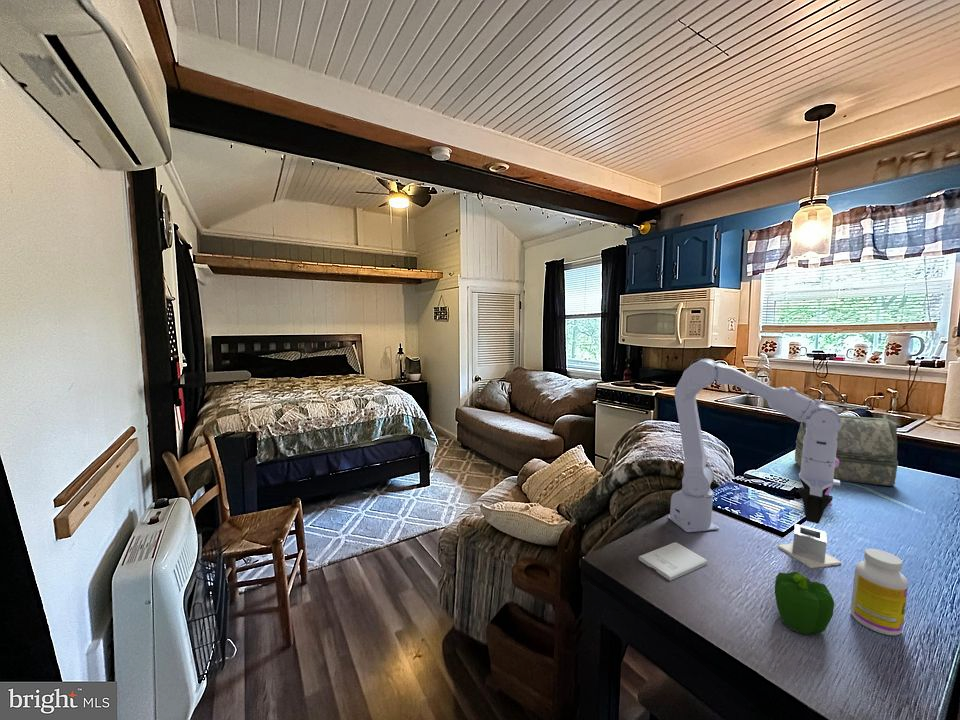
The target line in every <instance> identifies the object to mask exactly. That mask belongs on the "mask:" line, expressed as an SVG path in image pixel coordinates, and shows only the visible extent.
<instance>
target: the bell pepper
mask: <svg viewBox="0 0 960 720" xmlns="http://www.w3.org/2000/svg"><path fill="white" fill-rule="evenodd" d="M774 594H775V595H774V596H775V601H776V606H777V610H778V614H779V616H780V617H781V620H782V622H783V623H784V625H786V626H787V627H788V628H789V629H791V630H793V631H795V632H796V633H799V634H803V635H810V634H811V633H813V634H818V635H819V634H821V633H824V632H825V631H826V629H827V628H828V625H829V623H830V622H831V620H832V617H833V615H834V610H835V609H834V608H835V600H834V599H833V596H832V594H831V592H830V590H829V589H828V587H827V586H826V584H824V583H822V582H819V581H814V580H813V581H811V580H810V579H809V578H808V577H806V576H804V575H803V574H801V573H800V572H798V571H792V572H786V573H785V572H780V571H779V572H778V574H777V575H776V576H775V582H774Z"/></svg>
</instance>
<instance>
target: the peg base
mask: <svg viewBox="0 0 960 720" xmlns="http://www.w3.org/2000/svg"><path fill="white" fill-rule="evenodd" d="M805 535H808V534H805ZM809 536H812V535H809ZM812 537H814V536H812ZM777 548H778V549H780V550H781V551H783V552H784V553H786V554H788V555H790V556H791V557H793V558H794V559H796V560H797V561H798V562H800V563H801V564H804V565H805V566H807V567H808V568H810V569H816V568H823V567H824V568H825V567H832V566H831V565H834V566H840V565H839V564H841V565H842V561H840V560H839V559H837V558H835V557H833V556H832V555H830V554H828V553H825V563H821V562H817V561H814V560H811V559H808V558H804V557H801V556H798V555H795V554H792V551H793V542H791V543H784V544H778V545H777Z"/></svg>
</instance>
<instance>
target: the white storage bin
mask: <svg viewBox="0 0 960 720" xmlns="http://www.w3.org/2000/svg"><path fill="white" fill-rule="evenodd" d="M805 534H808V535H805ZM809 535H812V536H814V537H812V536H809ZM792 543H793V551H792V554H795V555H798V556H801V557H804V558H808V559H811V560H814V561H817V562H821V563H825V553H826V552H827V543H828V542H827V532H826V531H825V530H819V529H817V528H816V529H815V528H813V527H809V526H805V525H802V524H797V523H795V524H794V531H793V542H792Z"/></svg>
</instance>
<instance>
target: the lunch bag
mask: <svg viewBox="0 0 960 720" xmlns="http://www.w3.org/2000/svg"><path fill="white" fill-rule="evenodd" d="M838 415H839V417H840V419H841V423H842V427H841V429H840V430H839V431H838V432H837V433H838V437H837V439H836V440H837V451H836V458H837V459H838V460H839V465H838V466H837V467H836V468H835V469H834V478H833V479H836V480H839V481H844V482H851V483H853V482H854V483H862V484H870V485H877V486H878V485H879V486H894V485H896V479H897V471H898V466H899V461H898V458H897V457H898V437H897V436H898V433H897V432H898V427H899V424H898V423H897V422H895V421H892V420H890V419H888V418H886V417H885V418H884V417H883V418H881V417H879V418H878V417H865V416H864V417H863V416H854V415H844V414H838ZM806 425H807V424H806V423H805V422H800V424H799V429H798V432H797V436H796V440H795V450H794V461H795V463H796V465H797V466H798V467H799V468H800V469H801V461H802V451H803V441H804V436H805V434H806Z"/></svg>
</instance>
